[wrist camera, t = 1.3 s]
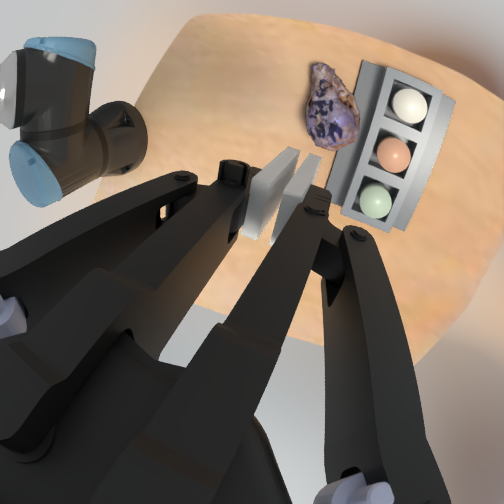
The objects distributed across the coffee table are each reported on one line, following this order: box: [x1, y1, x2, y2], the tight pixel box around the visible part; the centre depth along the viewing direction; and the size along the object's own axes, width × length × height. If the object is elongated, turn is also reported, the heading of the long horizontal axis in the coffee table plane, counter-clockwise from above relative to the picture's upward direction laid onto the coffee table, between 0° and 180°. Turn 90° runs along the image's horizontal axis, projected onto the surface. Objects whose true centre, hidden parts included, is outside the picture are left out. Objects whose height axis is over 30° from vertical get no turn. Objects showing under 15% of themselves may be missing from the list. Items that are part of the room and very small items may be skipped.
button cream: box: [391, 89, 427, 123], centre depth 27 cm, size 4×4×2 cm
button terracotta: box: [376, 136, 411, 173], centre depth 31 cm, size 4×4×2 cm
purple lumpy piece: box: [305, 63, 360, 151], centre depth 31 cm, size 12×8×6 cm, turn 7°
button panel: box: [326, 60, 456, 233], centre depth 33 cm, size 14×22×4 cm, turn 169°
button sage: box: [360, 182, 392, 218], centre depth 36 cm, size 4×4×2 cm
